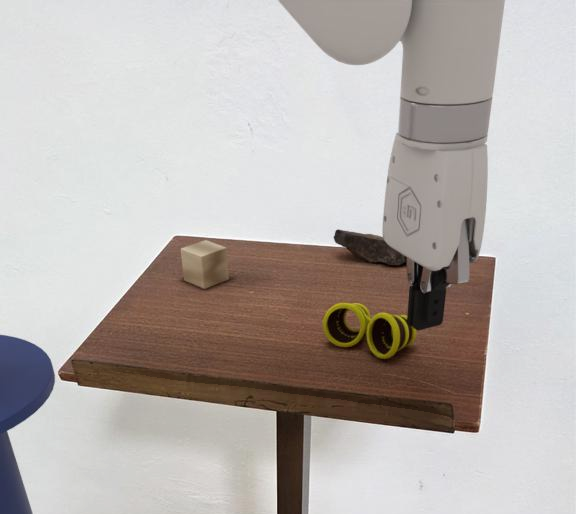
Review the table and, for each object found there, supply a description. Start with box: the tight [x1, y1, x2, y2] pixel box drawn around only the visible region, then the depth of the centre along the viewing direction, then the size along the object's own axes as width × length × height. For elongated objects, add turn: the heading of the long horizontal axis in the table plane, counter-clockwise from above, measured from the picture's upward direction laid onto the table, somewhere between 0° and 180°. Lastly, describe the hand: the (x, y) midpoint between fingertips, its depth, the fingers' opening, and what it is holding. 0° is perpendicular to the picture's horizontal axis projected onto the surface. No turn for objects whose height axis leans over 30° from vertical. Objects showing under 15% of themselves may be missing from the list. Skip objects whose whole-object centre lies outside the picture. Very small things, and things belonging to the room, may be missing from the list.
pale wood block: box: [180, 239, 230, 290], centre depth 100 cm, size 4×4×4 cm
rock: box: [333, 228, 406, 266], centre depth 105 cm, size 12×7×5 cm, turn 57°
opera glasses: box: [322, 302, 418, 360], centre depth 84 cm, size 10×5×5 cm, turn 55°
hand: (424, 324), depth 74 cm, fingers closed
